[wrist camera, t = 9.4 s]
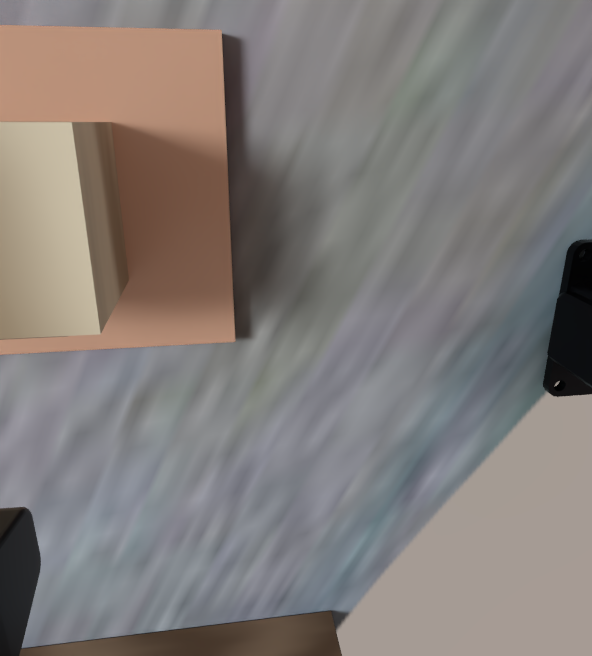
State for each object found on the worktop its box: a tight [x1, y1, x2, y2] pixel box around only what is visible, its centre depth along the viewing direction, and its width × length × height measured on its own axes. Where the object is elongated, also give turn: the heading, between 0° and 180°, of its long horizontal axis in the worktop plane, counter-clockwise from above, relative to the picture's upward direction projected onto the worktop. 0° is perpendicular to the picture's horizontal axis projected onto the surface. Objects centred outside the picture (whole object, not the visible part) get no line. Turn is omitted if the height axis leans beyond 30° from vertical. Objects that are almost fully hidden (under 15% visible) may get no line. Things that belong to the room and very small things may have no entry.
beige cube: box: [0, 122, 129, 340], centre depth 15 cm, size 5×5×5 cm
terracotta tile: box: [0, 25, 235, 355], centre depth 17 cm, size 12×10×1 cm
